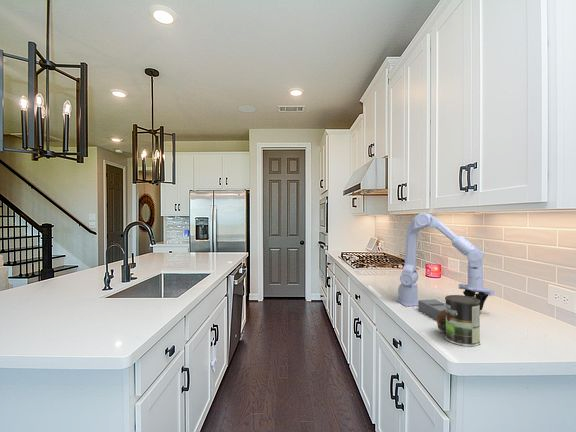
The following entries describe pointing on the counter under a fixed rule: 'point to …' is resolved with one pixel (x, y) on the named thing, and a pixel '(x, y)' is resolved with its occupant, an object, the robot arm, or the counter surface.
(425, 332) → the counter surface
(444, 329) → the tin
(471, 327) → the coffee can
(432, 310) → the dispenser
